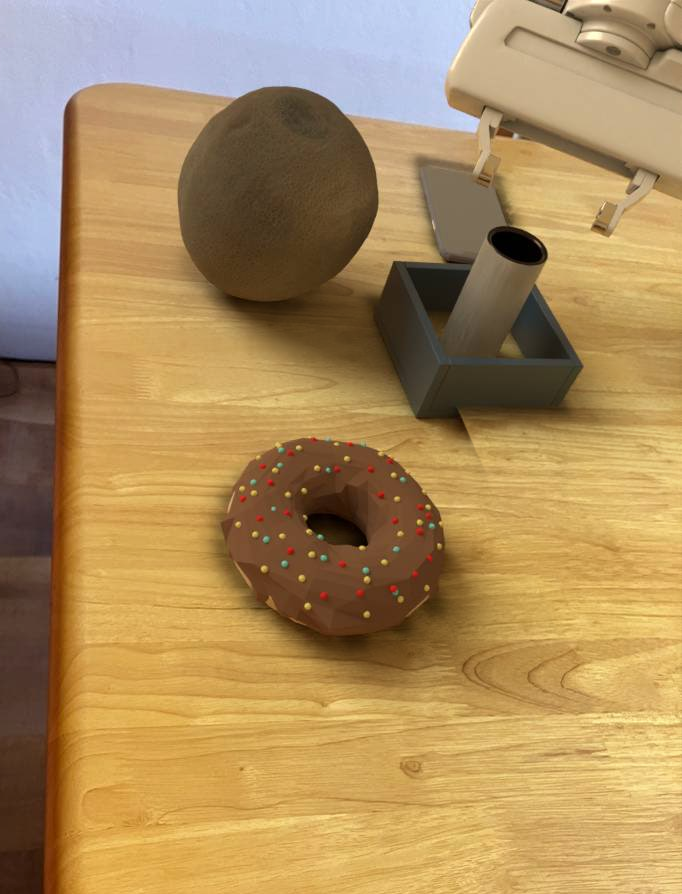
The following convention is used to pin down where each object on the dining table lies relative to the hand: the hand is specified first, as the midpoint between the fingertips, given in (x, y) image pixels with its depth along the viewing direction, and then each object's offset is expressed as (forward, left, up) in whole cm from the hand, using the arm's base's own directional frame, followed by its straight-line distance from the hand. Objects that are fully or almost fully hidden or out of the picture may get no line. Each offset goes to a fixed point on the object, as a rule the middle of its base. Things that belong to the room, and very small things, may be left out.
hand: (539, 207), depth 64 cm
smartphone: (-4, -16, -12) cm, 20 cm away
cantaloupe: (+18, -5, -12) cm, 22 cm away
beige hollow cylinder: (+3, +4, -11) cm, 12 cm away
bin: (+3, +4, -12) cm, 13 cm away
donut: (+19, +22, -12) cm, 31 cm away
